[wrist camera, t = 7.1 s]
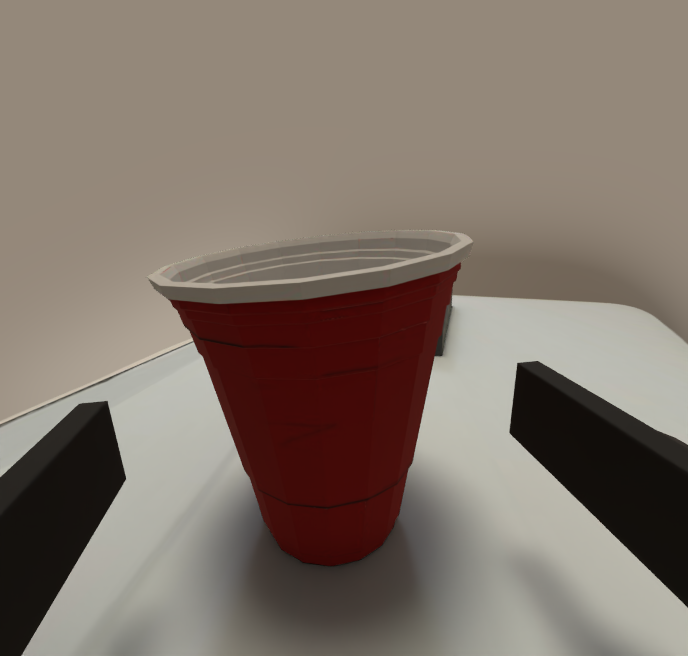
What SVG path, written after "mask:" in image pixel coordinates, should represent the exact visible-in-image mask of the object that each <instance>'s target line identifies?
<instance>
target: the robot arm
mask: <svg viewBox="0 0 688 656" xmlns="http://www.w3.org/2000/svg"><path fill="white" fill-rule="evenodd" d="M509 433H510V434H511V435H512V436H513V437H514V438H515V439H516V440H517V441H518V442H519V443H520V444H521V445H522V446H523V447H524V448H525V449H526V450H527V451H528V452H529V453H530V454H531V455H532V456H533V457H534V458H536V459H537V460H538V461H539V462H540V463H541V464H542V465H543V466H544V467H545V468H546V469H547V470H548V471H549V472H550V473H551V474H552V475H553V476H554V477H555V478H556V479H557V480H558V481H559V482H560V483H561V484H562V485H563V486H564V487H565V488H566V489H567V490H568V491H569V492H570V493H571V494H572V495H573V496H574V497H575V498H576V499H577V500H578V501H579V502H581V503H582V504H583V505H584V506H585V507H586V508H587V509H588V510H589V511H590V512H591V513H592V514H593V515H594V516H595V517H596V518H597V519H598V520H599V521H600V522H601V523H602V524H603V525H604V526H605V527H606V528H607V529H608V530H609V531H610V532H611V533H612V534H613V535H614V536H615V537H616V538H617V539H618V540H619V541H620V542H621V543H622V544H623V545H624V546H626V547H627V548H628V549H629V550H630V551H631V552H632V553H633V554H634V555H635V556H636V557H637V558H638V559H639V560H640V561H641V562H642V563H643V564H644V565H645V566H646V567H647V568H648V569H649V570H650V571H651V572H652V573H653V574H654V575H655V576H656V577H657V578H658V579H659V580H660V581H661V582H662V583H663V584H664V585H665V586H666V587H667V588H668V589H669V590H671V591H672V592H673V593H674V594H675V595H676V596H677V597H678V598H679V599H680V600H681V601H682V602H683V603H684V604H685V605H686V606H687V607H688V445H687V444H685V443H683V442H682V441H680V440H678V439H677V438H674V437H672V436H669V435H667V434H664V433H662V432H659V431H657V430H655V429H653V428H652V427H650V426H648V425H646V424H645V423H643V422H641V421H640V420H638V419H636V418H634V417H633V416H631V415H629V414H628V413H626V412H624V411H622V410H621V409H619V408H617V407H616V406H614V405H612V404H610V403H609V402H607V401H605V400H604V399H602V398H600V397H599V396H597V395H595V394H593V393H592V392H590V391H588V390H587V389H585V388H583V387H581V386H580V385H578V384H576V383H575V382H573V381H571V380H569V379H568V378H566V377H564V376H563V375H561V374H559V373H557V372H556V371H554V370H552V369H551V368H549V367H547V366H545V365H544V364H542V363H540V362H539V361H534V362H523V363H517V371H516V380H515V389H514V397H513V406H512V415H511V424H510V432H509ZM125 480H126V476H125V472H124V468H123V464H122V459H121V455H120V451H119V447H118V443H117V439H116V435H115V431H114V426H113V422H112V418H111V414H110V410H109V406H108V402H107V401H104V402H93V403H82V404H79V405H78V406H76V407H75V408H74V409H73V410H72V411H71V412H70V413H69V414H68V415H67V416H66V417H65V418H64V419H62V420H61V421H60V422H59V423H58V424H57V425H56V426H55V427H54V428H53V429H52V430H51V431H50V432H49V433H47V434H46V435H45V436H44V437H43V438H42V439H41V440H40V441H39V442H38V443H37V444H36V445H35V446H34V447H32V448H31V449H30V450H29V451H28V452H27V453H26V454H25V455H24V456H23V457H22V458H21V459H20V460H18V461H17V462H16V463H15V464H14V465H13V466H12V467H11V468H10V469H9V470H8V471H7V472H6V473H5V474H3V475H2V476H1V477H0V656H21V655H22V653H23V652H24V650H25V648H26V647H27V645H28V643H29V642H30V640H31V638H32V637H33V635H34V633H35V632H36V630H37V628H38V626H39V625H40V623H41V621H42V620H43V618H44V616H45V615H46V613H47V611H48V610H49V608H50V606H51V605H52V603H53V601H54V600H55V598H56V596H57V594H58V593H59V591H60V589H61V588H62V586H63V584H64V583H65V581H66V579H67V578H68V576H69V574H70V573H71V571H72V569H73V568H74V566H75V564H76V563H77V561H78V559H79V557H80V556H81V554H82V552H83V551H84V549H85V547H86V546H87V544H88V542H89V541H90V539H91V537H92V536H93V534H94V532H95V531H96V529H97V527H98V525H99V524H100V522H101V520H102V519H103V517H104V515H105V514H106V512H107V510H108V509H109V507H110V505H111V504H112V502H113V500H114V499H115V497H116V495H117V494H118V492H119V490H120V488H121V487H122V485H123V483H124V482H125Z"/></svg>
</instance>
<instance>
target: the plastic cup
mask: <svg viewBox="0 0 688 656" xmlns="http://www.w3.org/2000/svg"><path fill="white" fill-rule="evenodd" d="M472 245H473V240H471V239H470V238H469V237H468V236H467V235H466V234H463V233H455V232H446V231H439V230H393V231H375V232H357V233H346V234H336V235H325V236H315V237H308V238H300V239H292V240H285V241H276V242H270V243H264V244H258V245H252V246H246V247H240V248H234V249H230V250H225V251H220V252H216V253H211V254H206V255H202V256H197V257H193V258H190V259H187V260H184V261H180V262H177V263H174V264H171V265H167V266H164V267H162V268H160V269H159V270H157V271H156V272H154V273H153V274H151V275H150V276H148V277H147V278H148V279H149V281H150V283H151V284H152V286H153V287H154V289H155V290H156V291H158V292H159V293H160V294H162V295H163V296H164V297H166V298H167V299H168V300H170V301H171V303H172V305H173V307H174V308H175V309H176V310H177V311H178V313H179V315H180V317H181V320H182V322H183V324H184V326H185V327H186V328H187V329H188V330H189V331H190V333H191V336H192V338H193V341H194V343H195V345H196V348H197V350H198V352H199V353H200V354H201V355H202V356H203V358H204V361H205V364H206V366H207V369H208V372H209V375H210V377H211V380H212V383H213V386H214V388H215V391H216V394H217V396H218V399H219V402H220V405H221V407H222V410H223V413H224V416H225V418H226V421H227V424H228V427H229V429H230V432H231V435H232V437H233V440H234V443H235V446H236V448H237V451H238V454H239V457H240V459H241V462H242V465H243V468H244V470H245V472H246V473H247V475H248V476H249V477H250V480H251V483H252V486H253V489H254V492H255V495H256V498H257V501H258V504H259V508H260V511H261V514H262V517H263V520H264V522H265V523H266V525H267V526H268V528H269V530H270V532H271V534H272V535H273V537H274V538H275V540H276V541H277V543H278V545H279V546H280V548H281V549H282V550H283V551H285V552H287V553H288V554H290V555H292V556H293V557H295V558H297V559H299V560H300V561H302V562H304V563H312V564H319V565H326V566H335V565H339V564H344V563H348V562H353V561H357V560H361V559H362V558H364V557H365V556H367V555H368V554H370V553H371V552H373V551H374V550H376V549H377V548H379V547H380V546H382V544H383V543H384V541H385V540H386V538H387V536H388V535H389V533H390V532H391V530H392V528H393V527H394V523H395V520H396V519H397V517H398V515H399V512H400V507H401V502H402V497H403V492H404V487H405V483H406V478H407V473H408V468H409V467H410V466H411V464H412V462H413V457H414V452H415V447H416V442H417V438H418V433H419V428H420V423H421V419H422V414H423V409H424V404H425V399H426V395H427V390H428V385H429V380H430V375H431V371H432V366H433V361H434V356H435V351H436V347H437V342H438V338H439V337H440V336H441V335H442V329H443V324H444V318H445V312H446V306H447V305H449V304H450V299H451V293H452V287H453V282H454V281H456V278H457V272H458V271H459V270H460V268H461V262H462V261H463V260H464V259H466V258H468V257H469V256H470V252H471V249H472Z"/></svg>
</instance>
